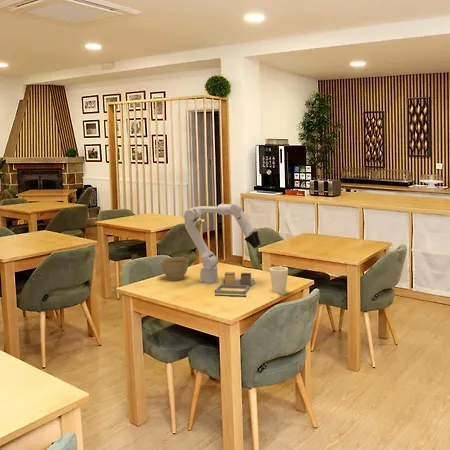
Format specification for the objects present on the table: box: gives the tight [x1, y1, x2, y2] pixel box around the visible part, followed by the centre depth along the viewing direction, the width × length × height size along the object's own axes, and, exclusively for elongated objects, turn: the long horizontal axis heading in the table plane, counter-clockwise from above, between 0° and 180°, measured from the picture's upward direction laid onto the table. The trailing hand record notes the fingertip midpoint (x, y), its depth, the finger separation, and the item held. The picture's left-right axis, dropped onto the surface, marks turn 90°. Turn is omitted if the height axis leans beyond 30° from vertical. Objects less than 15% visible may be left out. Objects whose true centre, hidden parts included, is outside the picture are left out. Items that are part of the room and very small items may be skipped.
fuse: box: [224, 271, 236, 285], centre depth 304 cm, size 5×3×6 cm, turn 75°
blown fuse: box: [240, 272, 252, 285], centre depth 302 cm, size 5×3×6 cm, turn 75°
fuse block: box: [221, 276, 256, 288], centre depth 303 cm, size 10×17×4 cm, turn 75°
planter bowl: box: [160, 256, 190, 281], centre depth 325 cm, size 16×16×11 cm
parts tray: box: [214, 284, 251, 298], centre depth 291 cm, size 16×11×3 cm
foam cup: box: [269, 266, 289, 296], centre depth 288 cm, size 10×9×13 cm
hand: (257, 246), depth 299 cm, fingers open, 7 cm apart
